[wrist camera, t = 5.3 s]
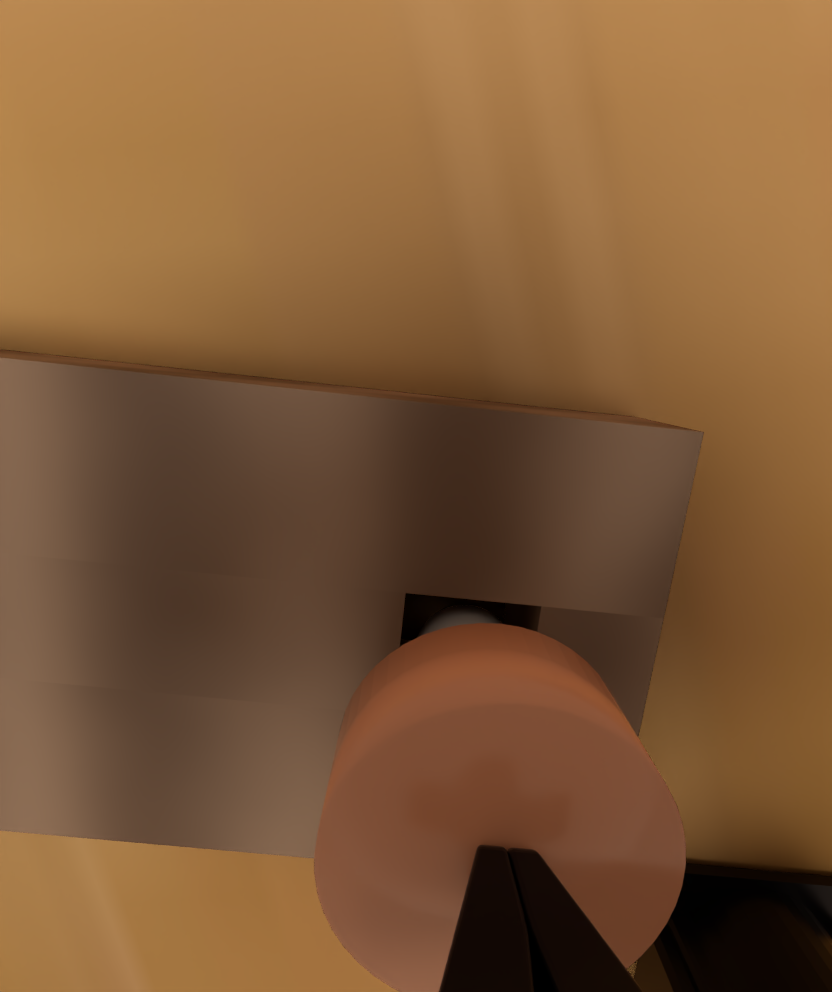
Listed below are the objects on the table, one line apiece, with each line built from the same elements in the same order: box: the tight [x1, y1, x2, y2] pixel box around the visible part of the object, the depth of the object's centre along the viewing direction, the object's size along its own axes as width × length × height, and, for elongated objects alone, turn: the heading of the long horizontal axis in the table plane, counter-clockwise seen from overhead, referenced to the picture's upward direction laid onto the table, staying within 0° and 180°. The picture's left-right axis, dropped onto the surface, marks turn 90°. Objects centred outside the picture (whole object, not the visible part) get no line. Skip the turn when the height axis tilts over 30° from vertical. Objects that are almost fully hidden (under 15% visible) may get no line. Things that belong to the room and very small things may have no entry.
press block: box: [0, 350, 704, 858], centre depth 15 cm, size 24×12×4 cm, turn 84°
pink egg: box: [314, 605, 686, 992], centre depth 11 cm, size 5×5×6 cm
